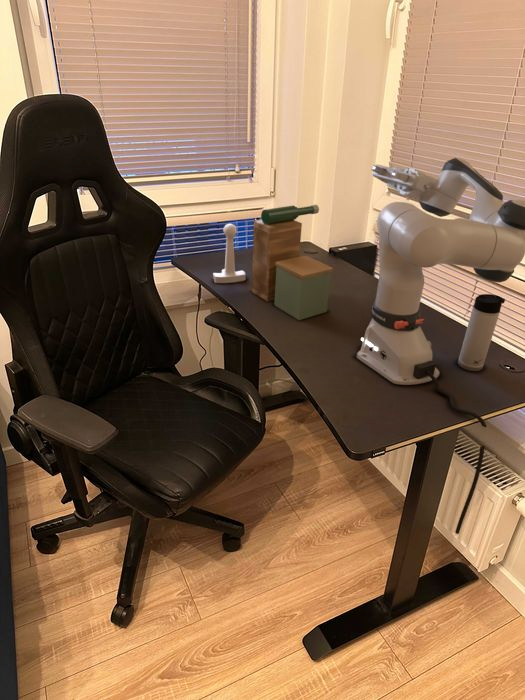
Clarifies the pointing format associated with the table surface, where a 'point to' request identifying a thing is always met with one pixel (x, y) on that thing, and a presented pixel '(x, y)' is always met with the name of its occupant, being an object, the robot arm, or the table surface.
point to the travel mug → (480, 331)
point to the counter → (302, 286)
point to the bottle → (286, 213)
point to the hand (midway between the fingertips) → (383, 170)
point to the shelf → (272, 253)
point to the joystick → (229, 260)
